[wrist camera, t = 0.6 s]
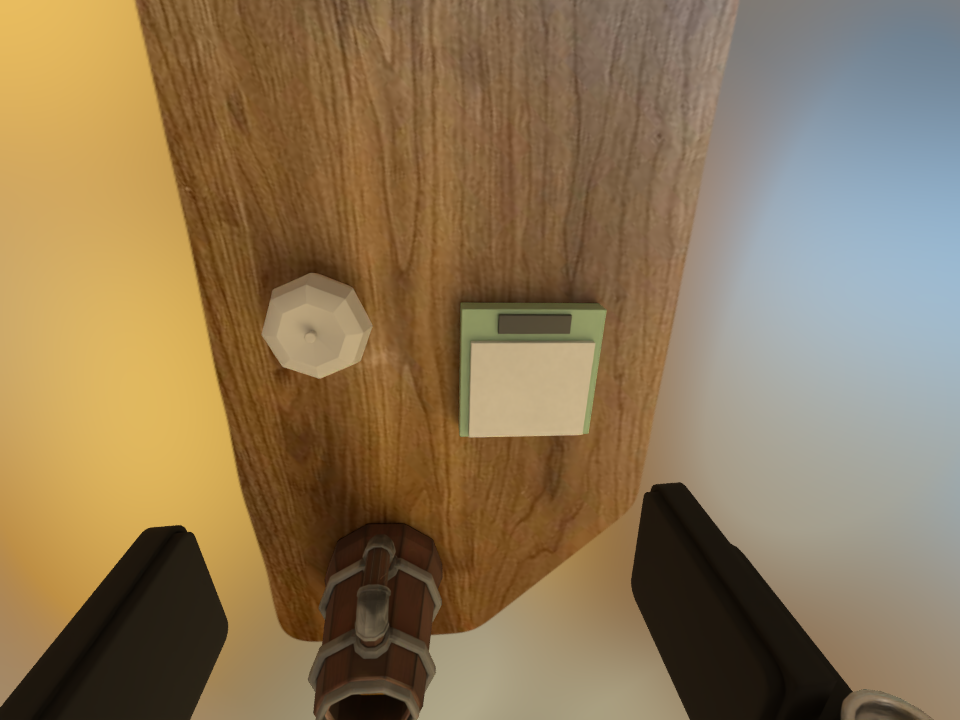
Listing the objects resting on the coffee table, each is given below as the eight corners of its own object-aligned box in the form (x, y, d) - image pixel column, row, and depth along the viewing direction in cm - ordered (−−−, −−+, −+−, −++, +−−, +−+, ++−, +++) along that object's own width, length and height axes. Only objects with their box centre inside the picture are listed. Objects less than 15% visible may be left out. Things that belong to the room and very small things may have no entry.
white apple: (383, 354, 38) (372, 388, 32) (289, 356, 38) (261, 391, 32) (375, 261, 35) (362, 279, 29) (273, 262, 34) (238, 281, 28)
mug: (439, 600, 51) (440, 760, 37) (331, 602, 49) (290, 769, 35) (446, 490, 45) (450, 631, 31) (323, 489, 43) (270, 636, 29)
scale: (460, 302, 37) (461, 311, 35) (598, 303, 38) (609, 311, 36) (458, 425, 42) (459, 440, 39) (582, 422, 43) (590, 437, 40)
